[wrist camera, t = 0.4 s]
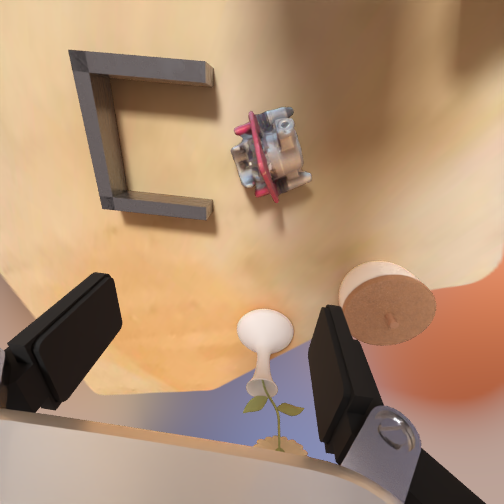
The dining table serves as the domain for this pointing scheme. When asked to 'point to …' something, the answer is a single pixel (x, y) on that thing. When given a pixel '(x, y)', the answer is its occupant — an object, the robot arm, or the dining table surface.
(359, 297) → the lidded bowl
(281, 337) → the flower in vase
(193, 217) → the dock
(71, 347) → the robot arm
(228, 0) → the dining table surface
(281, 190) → the brake caliper
